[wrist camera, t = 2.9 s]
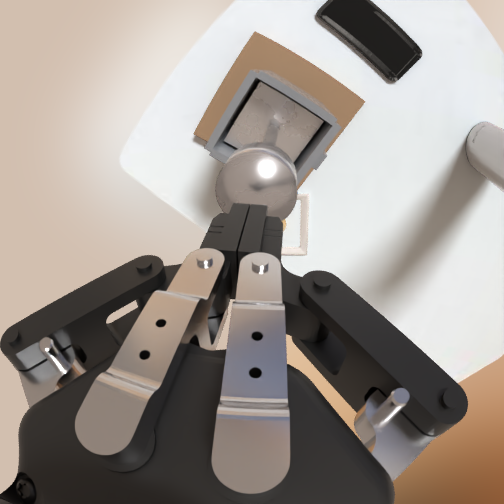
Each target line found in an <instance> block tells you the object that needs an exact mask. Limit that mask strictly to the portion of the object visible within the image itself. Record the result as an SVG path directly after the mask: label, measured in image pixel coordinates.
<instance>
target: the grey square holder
mask: <svg viewBox="0 0 504 504" xmlns="http://www.w3.org/2000/svg"><path fill="white" fill-rule="evenodd" d="M260 82H263V83H264V84H266V85H268V86H270V87H271V88H273V89H275V90H276V91H278V92H280V93H282V94H283V95H285V96H286V97H288V98H290V99H291V100H293V101H294V102H296V103H298V104H299V105H301V106H302V107H304V108H305V109H307V110H308V111H310V112H311V113H313V114H314V115H316V116H317V117H319V118H320V119H322V120H323V121H324V122H323V123H322V125H321V126H320V127H319V129H318V130H317V131H316V133H315V134H314V135H313V137H312V138H311V139H310V141H309V142H308V144H307V145H306V146H305V148H304V149H303V150H302V152H301V153H300V154H299V156H298V157H297V159H296V160H295V161H294V166H295V169H296V174H297V190H298V189H299V187H300V186H301V185H302V184H303V182H304V181H305V180H306V178H307V177H308V176H309V174H310V173H311V172H312V170H313V169H315V170H317V168H318V167H319V166H320V164H321V163H322V162H323V161H324V159H325V158H326V157H327V155H326V152H327V151H328V150H329V148H330V147H331V146H332V144H333V143H334V142H335V140H336V139H337V138H338V137H339V135H340V134H341V133H342V131H343V130H344V129H345V127H346V126H347V125H348V124H349V122H350V121H351V120H352V118H353V117H354V116H355V114H356V113H357V112H358V111H359V109H360V108H361V107H362V105H363V104H364V103H365V101H364V100H363V99H361V98H360V97H359V96H357V95H356V94H355V93H354V92H352V91H351V90H350V89H348V88H347V87H345V86H344V85H343V84H341V83H340V82H338V81H337V80H336V79H334V78H333V77H331V76H330V75H328V74H327V73H325V72H324V71H322V70H321V69H319V68H318V67H316V66H315V65H313V64H312V63H310V62H309V61H307V60H305V59H304V58H302V57H300V56H299V55H297V54H295V53H294V52H292V51H290V50H289V49H287V48H285V47H283V46H282V45H280V44H278V43H276V42H274V41H273V40H271V39H269V38H267V37H265V36H263V35H261V34H259V33H257V32H254V33H253V35H252V36H251V38H250V39H249V41H248V42H247V44H246V45H245V47H244V48H243V50H242V51H241V53H240V54H239V56H238V58H237V59H236V61H235V62H234V64H233V65H232V67H231V69H230V70H229V72H228V74H227V75H226V77H225V79H224V80H223V82H222V84H221V85H220V87H219V89H218V90H217V92H216V94H215V95H214V97H213V99H212V101H211V103H210V104H209V106H208V108H207V110H206V111H205V113H204V115H203V117H202V119H201V121H200V122H199V124H198V126H197V128H196V130H195V132H194V135H196V136H198V137H200V138H202V139H204V140H205V141H207V144H206V146H205V147H204V148H205V149H207V150H208V151H210V152H211V153H210V154H209V155H210V156H212V157H213V158H215V159H217V160H219V161H221V162H222V163H224V164H226V162H227V160H228V159H229V157H230V156H231V155H232V154H233V153H234V151H236V150H237V149H238V148H236V147H234V146H232V145H231V144H229V143H227V142H225V141H224V139H225V138H226V136H227V134H228V133H229V131H230V129H231V128H232V126H233V124H234V123H235V121H236V119H237V118H238V116H239V114H240V113H241V111H242V110H243V108H244V106H245V105H246V103H247V102H248V100H249V98H250V97H251V95H252V94H253V92H254V91H255V89H256V88H257V86H258V84H259V83H260Z"/></svg>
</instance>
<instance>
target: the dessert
mask: <svg viewBox="0 0 504 504" xmlns="http://www.w3.org/2000/svg"><path fill="white" fill-rule="evenodd" d="M297 200H301V222H300V247H282V251H281V255H307V243H308V217H309V194H297ZM282 222H283V231H284V230H285V228H286V221H285V219H284V220H283V221H282Z"/></svg>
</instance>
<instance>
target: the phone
mask: <svg viewBox="0 0 504 504" xmlns="http://www.w3.org/2000/svg"><path fill="white" fill-rule="evenodd" d="M317 16H318V18H319V19H320V20H321V21H323V22H324V23H325V24H327V25H328V26H329V27H331V28H332V29H333V30H334V31H336V32H337V33H338V34H339V35H341V36H342V37H343V38H344V39H346V40H347V41H348V42H349V43H350V44H351V45H353V46H354V47H355V48H356V49H357V50H358V51H359V52H361V53H362V54H363V55H364V56H365V57H366V58H367V59H368V60H369V61H370V62H371V63H372V64H374V65H375V66H376V67H377V68H378V69H379V70H380V71H381V72H382V73H383V74H384V75H385V76H386V77H387V78H388V79H389V80H392V81H397V80H399V79H400V78H401V77H402V76H403V75H404V74H405V73H406V72H407V71H408V70H409V69H410V68H411V67H412V66H413V65H414V64H415V63H416V62H417V61H418V60H419V59H420V58H421V57H422V50H421V49H420V47H419V46H418V45H417V44H416V43H415V42H414V41H413V40H412V39H411V38H410V37H409V36H408V35H407V34H406V33H405V32H404V31H403V30H402V29H401V28H400V27H399V26H398V25H397V24H396V23H395V22H394V21H393V20H392V19H391V18H390V17H389V16H388V15H387V14H385V13H384V12H383V11H382V10H381V9H380V8H379V7H378V6H376V5H375V4H374V3H373V2H372V1H370V0H328V1H327V2H326V3H325V4H324V5H323V6H322V7H321V8H320V9H319V10H318V12H317Z"/></svg>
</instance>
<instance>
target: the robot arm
mask: <svg viewBox="0 0 504 504" xmlns="http://www.w3.org/2000/svg"><path fill="white" fill-rule="evenodd" d="M466 152H467V157H468V160H469V162H470V164H471V165H472V166H473V167H474V168H475V169H476V170H477V171H479V172H480V173H481V174H482V175H484V176H485V177H486V178H487V179H488V180H490V181H491V182H492V183H493V184H495V185H496V186H497V187H498V188H499V189H500V190H502V191H503V192H504V129H502V128H500V127H498V126H496V125H493V124H491V123H488V122H482V123H479V124H477V125H476V126H474V128H473V129H472V130H471V132H470V133H469V136H468V138H467V143H466ZM267 215H268V205H260V204H251V206H250V204H243V203H233V205H232V207H231V210H230V212H229V214H227V213H220V214H219V215H218V216H216V217H215V218H214V219H213V220H212V223H211V225H210V227H209V229H208V232H207V233H206V236H205V238H204V240H203V242H202V244H201V247H200V249H198V250H195V251H193V252H191V253H190V254H189V255H188V256H187V257H186V259H185V260H184V262H183V263H182V264H179V265H171V266H164V265H163V261H162V260H161V259H160V258H159V257H157V256H153V255H145V256H141V257H138V258H136V259H134V260H132V261H130V262H128V263H126V264H124V265H122V266H120V267H118V268H116V269H114V270H112V271H110V272H108V273H107V274H104V275H103V276H101V277H99V278H97V279H95V280H93V281H91V282H89V283H88V284H86V285H84V286H82V287H80V288H78V289H76V290H74V291H73V292H71V293H69V294H67V295H65V296H63V297H62V298H60V299H58V300H56V301H54V302H53V303H51V304H49V305H47V306H45V307H44V308H42V309H40V310H38V311H37V312H35V313H33V314H31V315H30V316H28V317H26V318H24V319H23V320H21V321H19V322H18V323H16V324H14V325H13V326H11V327H9V328H8V329H7V330H6V331H5V333H4V334H3V336H2V338H1V342H0V348H1V351H2V352H3V354H4V355H5V356H6V357H7V358H8V359H9V360H10V362H11V363H12V364H13V366H14V367H15V368H16V370H17V371H18V372H19V375H20V379H21V382H22V386H23V389H24V392H25V395H26V398H27V401H28V405H29V407H30V409H29V410H28V411H27V412H26V413H25V415H24V417H23V418H22V421H21V423H20V427H19V434H18V435H19V466H18V473H17V476H16V479H15V481H14V482H13V484H12V485H11V486H10V487H9V488H8V489H6V490H5V491H4V492H3V493H1V494H0V504H394V496H395V492H394V486H393V481H394V480H395V479H396V478H397V477H398V476H399V475H400V474H401V473H402V472H403V471H404V470H405V469H406V468H407V467H408V466H409V465H410V464H411V463H412V462H413V461H414V460H415V459H416V458H417V457H418V455H419V454H420V453H421V452H422V451H423V450H424V449H425V448H426V447H427V445H428V444H429V443H430V442H431V441H432V440H434V439H435V438H437V437H438V436H440V435H441V434H442V433H444V432H445V431H447V430H448V429H450V428H451V427H452V426H454V425H455V424H456V423H458V422H459V421H460V420H461V419H462V418H463V417H464V416H465V414H466V412H467V407H468V401H467V396H466V394H465V392H464V390H463V389H462V388H461V386H460V385H458V383H456V382H455V381H454V380H453V379H452V378H451V377H450V376H449V375H448V374H447V373H446V372H445V371H444V370H443V369H441V368H440V367H439V366H438V365H437V364H436V363H435V362H434V361H433V360H432V359H431V358H429V357H428V356H427V355H426V354H425V353H424V352H423V351H422V350H421V349H420V348H418V347H417V346H416V345H415V344H414V343H413V342H412V341H411V340H410V339H408V338H407V337H406V336H405V335H404V334H403V333H402V332H401V331H399V330H398V329H397V328H396V327H395V326H394V325H393V324H391V323H390V322H389V321H388V320H387V319H386V318H385V317H383V316H382V315H381V314H380V313H379V312H378V311H377V310H375V309H374V308H373V307H372V306H371V305H370V304H368V303H367V302H366V301H365V300H364V299H363V298H361V297H360V296H359V295H358V294H357V293H356V292H354V291H353V290H352V289H351V288H350V287H348V286H347V285H346V284H345V283H344V282H343V281H341V280H340V279H339V278H338V277H336V276H335V275H334V274H332V273H329V272H326V271H311V272H308V273H307V274H305V275H304V276H303V277H300V276H297V275H294V274H292V273H290V272H288V271H287V270H286V269H285V268H284V267H283V265H282V263H281V251H282V236H283V222H282V221H281V219H280V218H279V217H272V216H267ZM230 299H235V302H233V304H232V311H231V318H230V327H229V334H228V343H227V349H226V350H216V347H217V344H218V341H219V338H220V336H221V333H222V330H223V326H224V324H225V321H226V318H227V315H228V305H229V302H230ZM134 300H136V302H137V305H138V308H136V309H135V310H133V311H131V312H129V313H127V314H126V315H124V316H122V317H121V318H119V319H117V320H115V321H114V322H112V323H109V324H106V320H107V318H108V316H109V315H110V314H112V313H113V312H115V311H116V310H119V309H120V308H122V307H124V306H126V305H127V304H129V303H131V302H133V301H134ZM286 334H288V335H290V336H292V340H293V342H294V344H295V345H296V346H297V347H298V348H299V350H300V351H301V352H302V353H303V354H304V355H305V356H306V357H307V359H308V360H309V361H310V362H311V363H312V364H313V365H314V366H315V367H316V368H317V370H318V371H319V372H320V373H321V374H322V375H323V376H324V377H325V379H326V380H327V381H328V382H329V383H330V384H331V385H332V386H333V387H334V388H335V390H336V391H337V392H338V393H339V394H340V395H341V396H342V397H343V398H344V399H345V401H346V402H347V403H348V404H349V405H350V406H351V407H352V408H353V409H354V410H355V411H356V412H357V414H356V416H355V420H354V426H355V430H356V433H357V434H358V436H359V437H360V439H361V441H362V442H361V441H360V440H359V438H358V437H357V436H356V435H355V434H354V432H353V431H352V430H351V429H350V428H349V426H348V425H347V424H346V423H345V422H344V420H343V419H342V418H341V417H340V416H339V414H338V413H337V412H336V411H335V410H334V408H333V407H332V406H331V405H330V403H329V402H328V401H327V400H326V399H325V397H324V396H323V395H322V394H321V393H320V391H319V390H318V389H317V388H316V386H315V385H314V384H313V383H312V381H310V379H309V378H308V377H307V376H306V375H304V374H303V373H302V372H300V371H299V370H298V369H296V368H294V367H292V366H291V365H289V364H287V353H286Z"/></svg>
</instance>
